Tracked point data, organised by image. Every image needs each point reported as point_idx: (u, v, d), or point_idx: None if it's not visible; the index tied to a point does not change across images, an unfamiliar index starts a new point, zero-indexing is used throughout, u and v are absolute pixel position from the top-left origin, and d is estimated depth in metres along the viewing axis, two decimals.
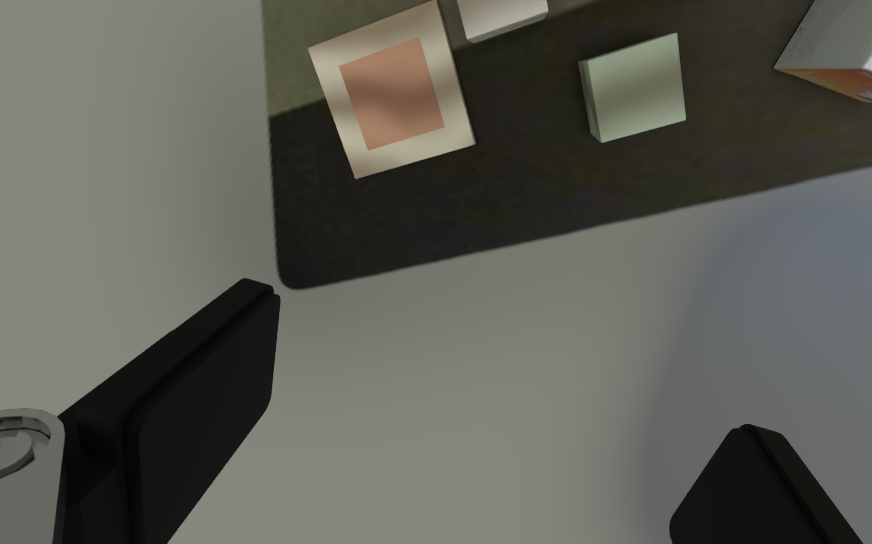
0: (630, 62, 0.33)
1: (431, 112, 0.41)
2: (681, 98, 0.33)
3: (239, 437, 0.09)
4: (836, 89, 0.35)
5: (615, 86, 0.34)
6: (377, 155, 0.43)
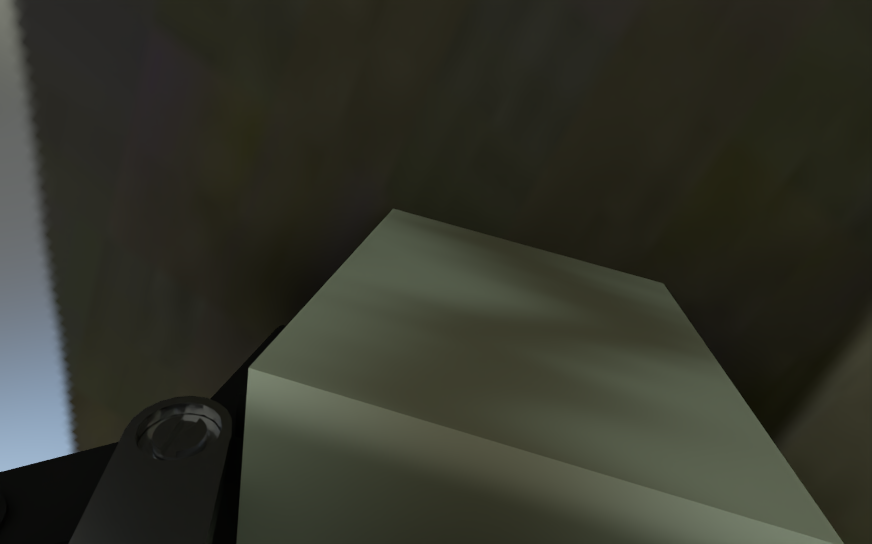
0: None
1: None
2: None
3: None
4: None
5: None
6: None
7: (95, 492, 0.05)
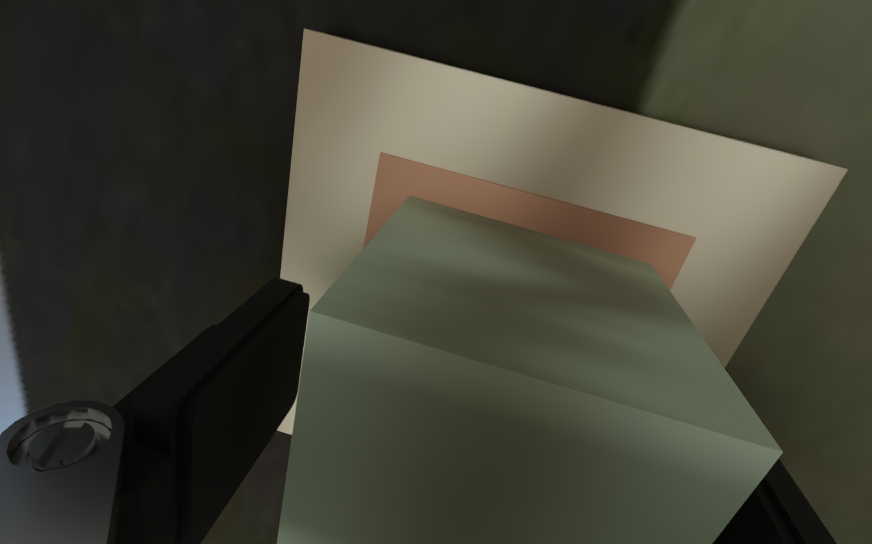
0: None
1: None
2: None
3: (270, 431, 0.09)
4: None
5: (552, 485, 0.06)
6: (348, 170, 0.11)
7: None
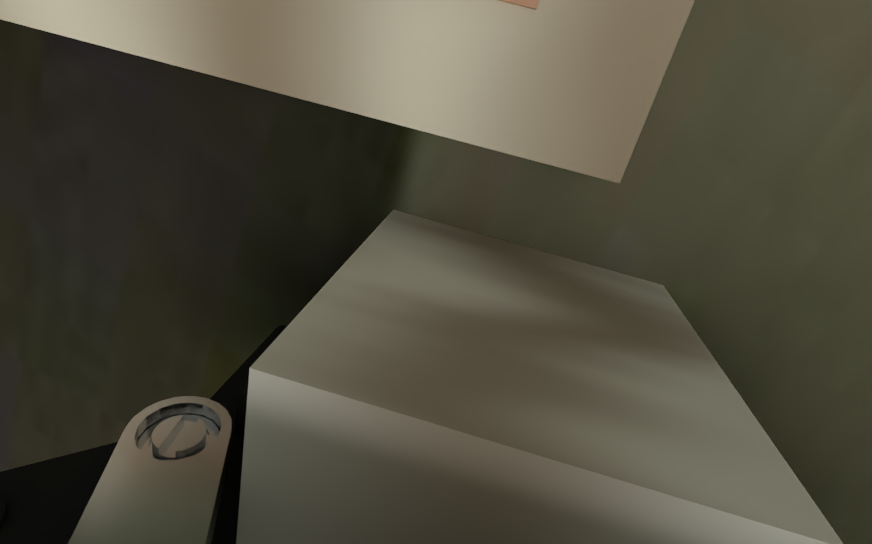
0: None
1: None
2: None
3: None
4: None
5: None
6: None
7: (94, 492, 0.05)
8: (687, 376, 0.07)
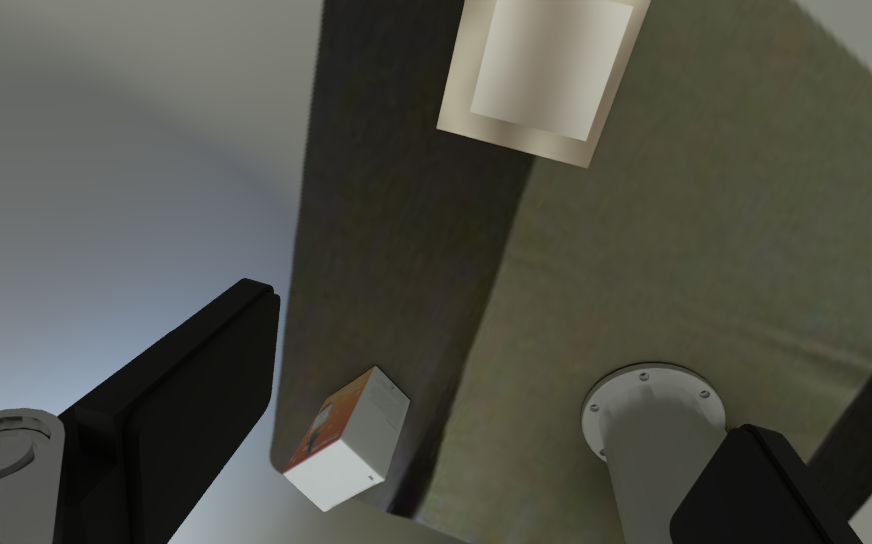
0: None
1: None
2: None
3: (239, 437, 0.09)
4: (341, 392, 0.48)
5: None
6: (487, 0, 0.32)
7: None
8: None
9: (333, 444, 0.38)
